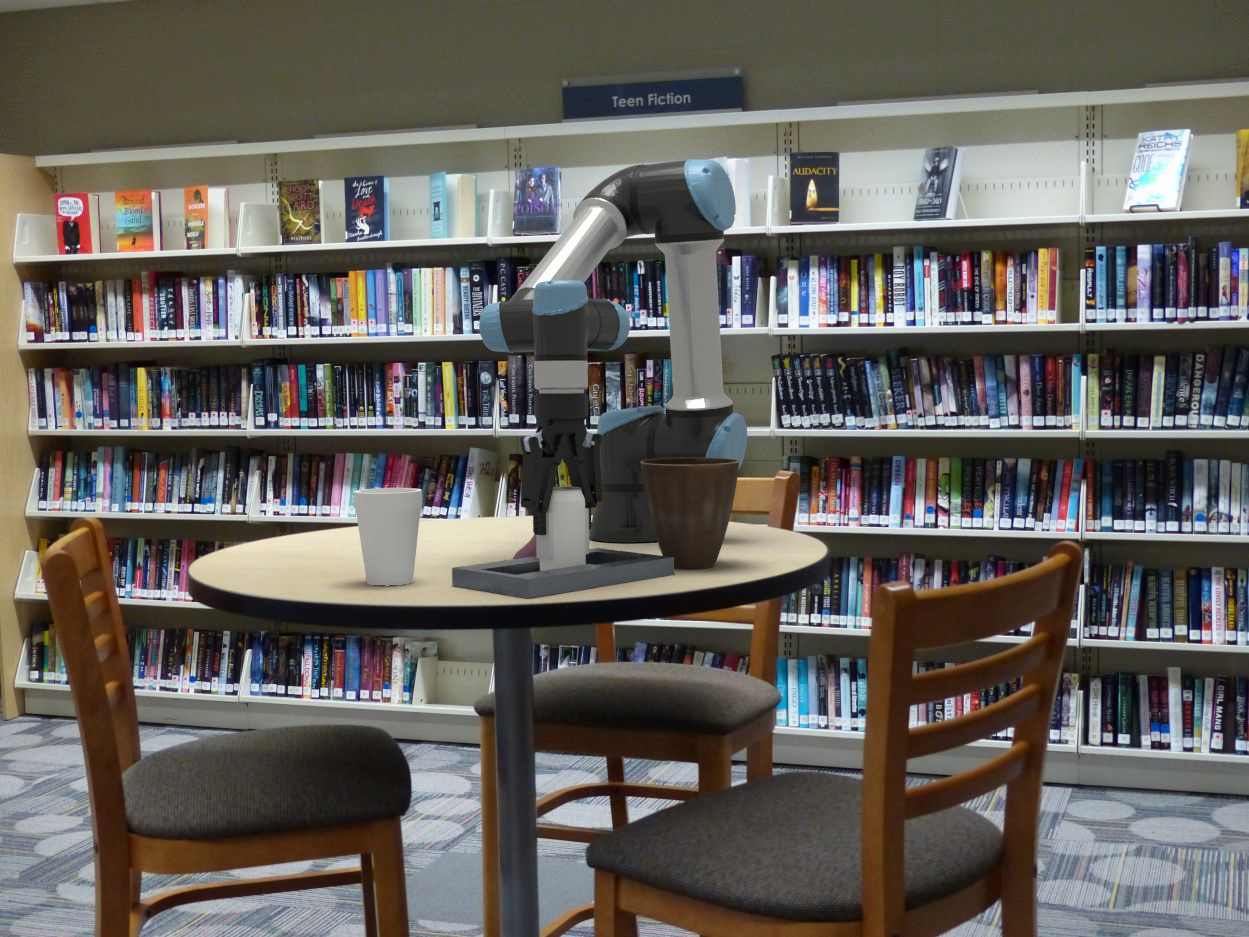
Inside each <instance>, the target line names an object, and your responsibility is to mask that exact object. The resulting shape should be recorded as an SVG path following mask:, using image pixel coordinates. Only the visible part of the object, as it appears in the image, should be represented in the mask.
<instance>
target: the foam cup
mask: <svg viewBox="0 0 1249 937" xmlns="http://www.w3.org/2000/svg"><path fill="white" fill-rule="evenodd" d="M422 507H423V490H422V489H421V488H413V487H385V488H383V487H381V488H380V487H379V488H377V487H376V488H365V489H364V488H363V489H359V490H354V491H353V509H355V515H356V520H357V526H358V532H359V540H360V546H361V552H362V559H363V565H364V572H365V573H364V574H365V579H366V580H367V581H366V584H367V585H369V584H370V585H369V586H374V585H385V586H384V587H390V586H389V585H398V586H403V584H406V585H409V583H410V584H412V583H413V580H414V579H413V578H414V574H415V563H416V554H417V543H418V536H419V526H420V518H421V508H422Z"/></svg>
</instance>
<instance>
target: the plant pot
mask: <svg viewBox="0 0 1249 937" xmlns="http://www.w3.org/2000/svg"><path fill="white" fill-rule="evenodd" d="M640 463H641V471H642V477H643V484H644V489H645V495H646V500H647V505H648V509H649V513H650V517H651V521H652V525H653V528H654V532H655V535H656V538H657V541H656V542H657V543H658V547H659V550H660V553H661V556H668V557H674V569H678V570H701V569H709V568H713V567H714V566H716V562H717V560H718V558H719V555H720V553H721V549H722V547H723V546H722V545H723V543H724V540H725V537H726V533H727V529H728V526H729V523H730V517H731V513H732V510H733V505H734V502H735V501H734V500H735V496H736V495H735V494H736V490H737V482H738V477H739V470H740V468H739V460H736V459H727V458H662V459H650V460H643V461H641V462H640ZM738 469H739V470H738Z"/></svg>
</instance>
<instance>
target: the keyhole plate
mask: <svg viewBox="0 0 1249 937" xmlns="http://www.w3.org/2000/svg"><path fill="white" fill-rule="evenodd" d="M672 575H675V568H674V557H668V556H662V555H661V554H660V555H658V554H651V553H643V552H633V551H624V550H617V549H611V548H610V549H607V548H599V547H595V548H589V554H586V565H579V566H573V567H566V568H559V569H552V570H546V571H540V558H537V556H535V557H527V558H520V559H513V558H512V559H508V560H500V561H499V560H498V561H492V562H485V563H477V564H471V565H464V566H456V567H454V566H453V567H451V582H452V583H451V584H452V586H453V587H457V588H458V587H459V588H465V589H469V590H476V591H480V592H481V591H483V592H486V593H487V592H488V593H495V594H499V595H506V596H512V597H517V598H524V599H534V598H541V597H548V596H551V595H553V596H554V595H558V594H563V593H569V592H575V591H582V590H587V589H594V588H600V587H605V586H613V585H617V584H623V583H630V582H636V581H637V582H638V581H642V580H648V579H656V578H660V577H666V576H672Z"/></svg>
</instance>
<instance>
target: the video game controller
mask: <svg viewBox="0 0 1249 937" xmlns="http://www.w3.org/2000/svg"><path fill="white" fill-rule="evenodd" d="M535 556H536V535H534V534H533V536H532V537H531V538H530V540H529V541H528V542H527V543H526V544H525V545H524V546H522V547H521V548H520V549H518V550H517V551H516V553H515V554H514V555H513V557H512V560H513V559H520V558H527V557H535Z"/></svg>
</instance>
